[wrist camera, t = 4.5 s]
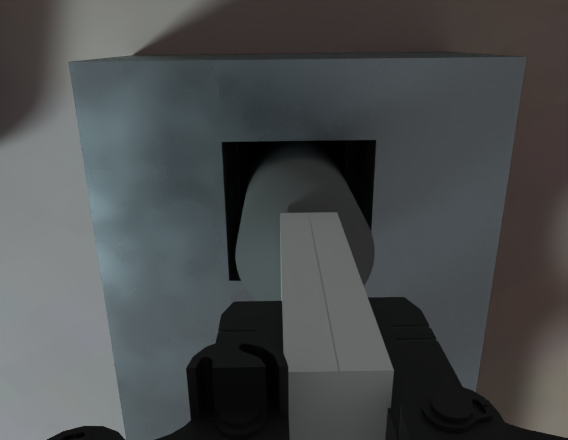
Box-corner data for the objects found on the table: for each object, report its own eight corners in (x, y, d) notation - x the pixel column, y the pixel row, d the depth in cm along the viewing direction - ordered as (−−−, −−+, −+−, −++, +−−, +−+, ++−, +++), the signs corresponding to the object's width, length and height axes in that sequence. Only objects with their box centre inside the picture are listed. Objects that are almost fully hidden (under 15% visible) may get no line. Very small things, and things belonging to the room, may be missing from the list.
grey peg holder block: (179, 486, 30) (152, 610, 23) (131, 55, 21) (68, 62, 15) (406, 480, 30) (443, 603, 24) (450, 51, 22) (526, 56, 15)
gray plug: (252, 210, 23) (238, 318, 14) (249, 129, 22) (232, 191, 13) (333, 209, 23) (371, 316, 14) (335, 127, 22) (378, 188, 13)
